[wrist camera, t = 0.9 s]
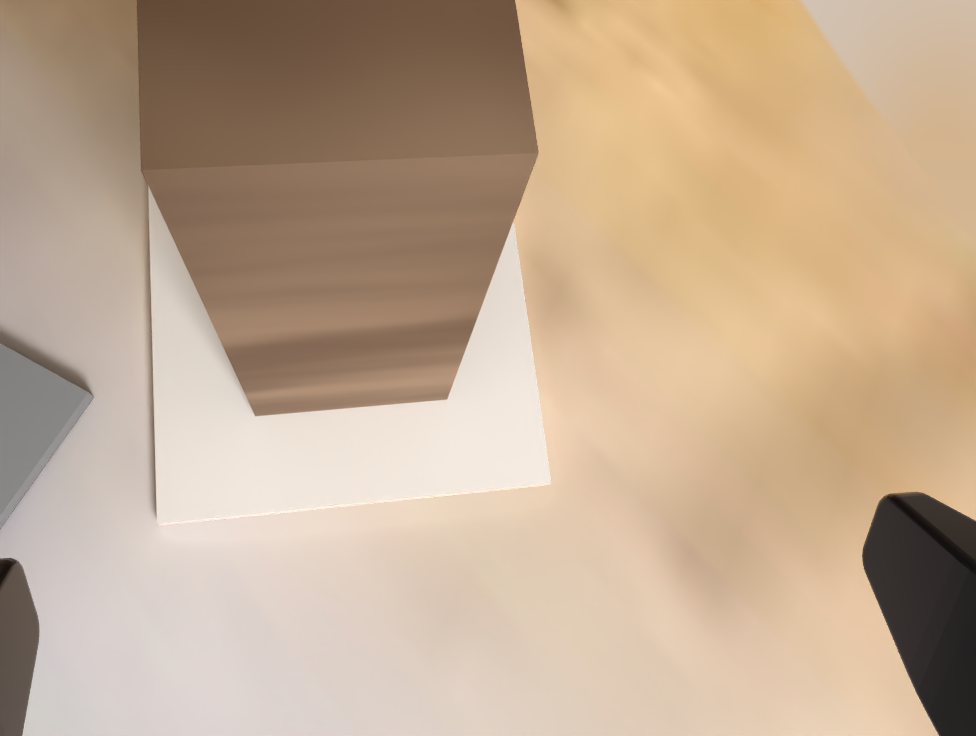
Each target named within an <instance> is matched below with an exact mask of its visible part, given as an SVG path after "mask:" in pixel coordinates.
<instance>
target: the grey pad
mask: <svg viewBox="0 0 976 736" xmlns="http://www.w3.org/2000/svg"><path fill="white" fill-rule="evenodd" d="M93 398H94V397H93V396H92V395H91V394H90V393H89V392H87V391H85V390H84V389H82V388H80V387H78V386H76V385H75V384H73V383H71V382H69V381H68V380H66V379H64V378H62V377H60V376H59V375H57V374H55V373H53V372H51V371H50V370H48V369H46V368H44V367H42V366H41V365H39V364H37V363H35V362H33V361H32V360H30V359H28V358H26V357H24V356H23V355H21V354H19V353H17V352H15V351H14V350H12V349H10V348H8V347H6V346H5V345H3V344H1V343H0V528H1V527H2V525H3V524H4V523H5V521H6V520H7V518H8V517H9V515H10V514H11V513H12V511H13V510H14V508H15V507H16V506H17V504H18V503H19V501H20V500H21V499H22V497H23V496H24V494H25V493H26V492H27V490H28V489H29V487H30V486H31V485H32V483H33V482H34V480H35V479H36V478H37V476H38V475H39V473H40V472H41V471H42V469H43V468H44V466H45V465H46V464H47V462H48V461H49V459H50V458H51V457H52V455H53V454H54V452H55V451H56V450H57V448H58V447H59V445H60V444H61V443H62V441H63V440H64V438H65V437H66V436H67V434H68V433H69V431H70V430H71V428H72V427H73V426H74V424H75V423H76V421H77V420H78V419H79V417H80V416H81V414H82V413H83V412H84V410H85V409H86V407H87V406H88V405H89V403H90V402H91V400H92V399H93Z"/></svg>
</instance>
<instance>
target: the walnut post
mask: <svg viewBox="0 0 976 736" xmlns="http://www.w3.org/2000/svg"><path fill="white" fill-rule="evenodd" d="M137 17H138V59H139V101H140V142H141V171H142V173H143V175H144V177H145V180H146V182H147V184H148V186H149V188H150V190H151V192H152V195H153V197H154V199H155V201H156V203H157V205H158V208H159V210H160V212H161V214H162V216H163V218H164V221H165V223H166V225H167V227H168V229H169V231H170V233H171V236H172V238H173V240H174V242H175V244H176V246H177V249H178V251H179V253H180V255H181V257H182V259H183V262H184V264H185V266H186V268H187V270H188V272H189V274H190V277H191V279H192V281H193V283H194V285H195V287H196V290H197V292H198V294H199V296H200V298H201V300H202V302H203V305H204V307H205V309H206V311H207V313H208V315H209V318H210V320H211V322H212V324H213V326H214V328H215V331H216V333H217V335H218V337H219V339H220V341H221V343H222V346H223V348H224V350H225V352H226V354H227V356H228V359H229V361H230V363H231V365H232V367H233V369H234V372H235V374H236V376H237V378H238V380H239V382H240V384H241V387H242V389H243V391H244V393H245V395H246V397H247V400H248V402H249V404H250V406H251V408H252V410H253V413H254V415H255V416H264V415H276V414H287V413H299V412H310V411H322V410H333V409H345V408H356V407H367V406H379V405H390V404H402V403H413V402H425V401H436V400H447V399H448V396H449V393H450V391H451V388H452V385H453V382H454V380H455V377H456V374H457V372H458V369H459V366H460V364H461V361H462V358H463V355H464V353H465V350H466V347H467V345H468V342H469V339H470V337H471V334H472V331H473V328H474V326H475V323H476V320H477V318H478V315H479V312H480V310H481V307H482V304H483V301H484V299H485V296H486V293H487V291H488V288H489V285H490V283H491V280H492V277H493V274H494V272H495V269H496V266H497V264H498V261H499V258H500V256H501V253H502V250H503V247H504V245H505V242H506V239H507V237H508V234H509V231H510V229H511V226H512V223H513V220H514V218H515V215H516V212H517V210H518V207H519V204H520V202H521V199H522V196H523V193H524V191H525V188H526V185H527V183H528V180H529V177H530V175H531V172H532V169H533V166H534V164H535V161H536V158H537V156H538V146H537V140H536V133H535V127H534V120H533V114H532V108H531V101H530V95H529V88H528V82H527V75H526V69H525V62H524V56H523V49H522V43H521V36H520V30H519V23H518V17H517V10H516V4H515V0H137Z"/></svg>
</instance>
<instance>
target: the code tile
mask: <svg viewBox="0 0 976 736" xmlns="http://www.w3.org/2000/svg"><path fill="white" fill-rule="evenodd" d="M148 201H149V239H150V277H151V316H152V354H153V392H154V431H155V469H156V507H157V524H158V525H160V526H164V525H174V524H183V523H193V522H202V521H212V520H221V519H231V518H240V517H250V516H259V515H269V514H278V513H288V512H297V511H307V510H317V509H326V508H336V507H345V506H355V505H364V504H374V503H383V502H393V501H402V500H412V499H421V498H431V497H441V496H450V495H460V494H469V493H479V492H488V491H498V490H507V489H517V488H526V487H536V486H545V485H549V484H550V483H551V478H550V471H549V464H548V457H547V450H546V443H545V436H544V429H543V422H542V415H541V408H540V401H539V394H538V387H537V380H536V373H535V366H534V359H533V352H532V345H531V338H530V331H529V324H528V317H527V310H526V303H525V296H524V289H523V282H522V275H521V268H520V261H519V254H518V247H517V240H516V233H515V226H514V220H513V223H512V226H511V229H510V231H509V234H508V237H507V239H506V242H505V245H504V247H503V250H502V253H501V256H500V258H499V261H498V264H497V266H496V269H495V272H494V274H493V277H492V280H491V283H490V285H489V288H488V291H487V293H486V296H485V299H484V301H483V304H482V307H481V310H480V312H479V315H478V318H477V320H476V323H475V326H474V328H473V331H472V334H471V337H470V339H469V342H468V345H467V347H466V350H465V353H464V355H463V358H462V361H461V364H460V366H459V369H458V372H457V374H456V377H455V380H454V382H453V385H452V388H451V391H450V393H449V396H448V399H447V400H436V401H425V402H413V403H402V404H390V405H379V406H367V407H356V408H345V409H333V410H322V411H310V412H299V413H287V414H276V415H264V416H255V415H254V413H253V410H252V408H251V406H250V404H249V402H248V400H247V397H246V395H245V393H244V391H243V389H242V387H241V384H240V382H239V380H238V378H237V376H236V374H235V372H234V369H233V367H232V365H231V363H230V361H229V359H228V356H227V354H226V352H225V350H224V348H223V346H222V343H221V341H220V339H219V337H218V335H217V333H216V331H215V328H214V326H213V324H212V322H211V320H210V318H209V315H208V313H207V311H206V309H205V307H204V305H203V302H202V300H201V298H200V296H199V294H198V292H197V290H196V287H195V285H194V283H193V281H192V279H191V277H190V274H189V272H188V270H187V268H186V266H185V264H184V262H183V259H182V257H181V255H180V253H179V251H178V249H177V246H176V244H175V242H174V240H173V238H172V236H171V233H170V231H169V229H168V227H167V225H166V223H165V221H164V218H163V216H162V214H161V212H160V210H159V208H158V205H157V203H156V201H155V199H154V197H153V195H152V192H151V190H150V188H149V186H148Z"/></svg>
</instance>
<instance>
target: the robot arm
mask: <svg viewBox="0 0 976 736" xmlns="http://www.w3.org/2000/svg"><path fill="white" fill-rule="evenodd" d="M862 558H863V566H864V570H865V573H866V575H867V577H868V580H869V582H870V585H871V587H872V589H873V592H874V594H875V597H876V599H877V601H878V604H879V606H880V609H881V611H882V613H883V616H884V618H885V621H886V623H887V625H888V628H889V630H890V632H891V635H892V637H893V640H894V642H895V644H896V647H897V649H898V652H899V654H900V656H901V659H902V661H903V664H904V666H905V668H906V671H907V673H908V675H909V677H910V680H911V682H912V684H913V686H914V688H915V691H916V693H917V695H918V697H919V699H920V701H921V703H922V704H923V706H924V708H925V710H926V712H927V714H928V716H929V718H930V720H931V722H932V723H933V725H934V727H935V729H936V731H937V733H938V734H939V736H976V521H975V520H973V519H971V518H969V517H967V516H966V515H964V514H962V513H960V512H958V511H956V510H954V509H953V508H951V507H949V506H947V505H945V504H943V503H941V502H939V501H938V500H936V499H934V498H932V497H930V496H928V495H926V494H924V493H920V492H907V493H893V494H888V495H886V496H884V497H883V498H882V499H881V500H880V501H879V503H878V506H877V509H876V512H875V515H874V517H873V520H872V523H871V526H870V529H869V532H868V535H867V538H866V541H865V544H864V547H863V554H862ZM38 643H39V620H38V616H37V612H36V609H35V606H34V602H33V599H32V596H31V593H30V589H29V586H28V583H27V580H26V576H25V573H24V570H23V567H22V566H21V564H20V563H19V562H18V561H17V560H15V559H12V558H3V559H0V736H22V734H23V728H24V722H25V717H26V711H27V706H28V700H29V694H30V689H31V683H32V677H33V672H34V666H35V660H36V655H37V649H38Z"/></svg>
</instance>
